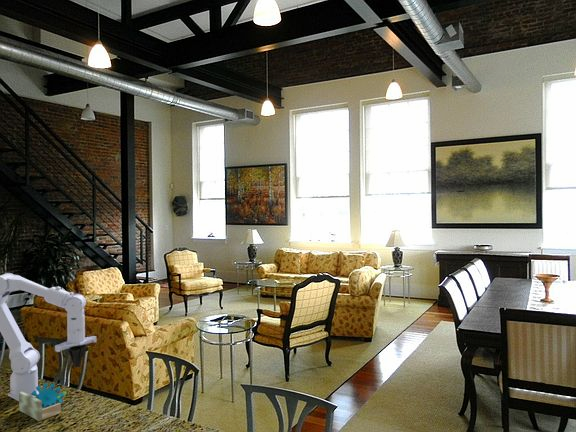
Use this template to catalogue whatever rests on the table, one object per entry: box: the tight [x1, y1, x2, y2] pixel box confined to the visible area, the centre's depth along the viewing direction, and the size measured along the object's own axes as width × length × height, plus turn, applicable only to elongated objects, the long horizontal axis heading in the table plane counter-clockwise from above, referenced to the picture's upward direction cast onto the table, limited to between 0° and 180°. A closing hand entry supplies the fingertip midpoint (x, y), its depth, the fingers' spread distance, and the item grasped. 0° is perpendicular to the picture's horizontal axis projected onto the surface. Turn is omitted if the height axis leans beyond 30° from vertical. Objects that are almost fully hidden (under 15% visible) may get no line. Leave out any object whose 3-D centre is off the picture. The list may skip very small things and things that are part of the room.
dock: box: [18, 392, 62, 422], centre depth 149 cm, size 13×7×6 cm, turn 54°
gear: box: [31, 382, 67, 409], centre depth 153 cm, size 11×6×10 cm
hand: (76, 366), depth 165 cm, fingers closed
